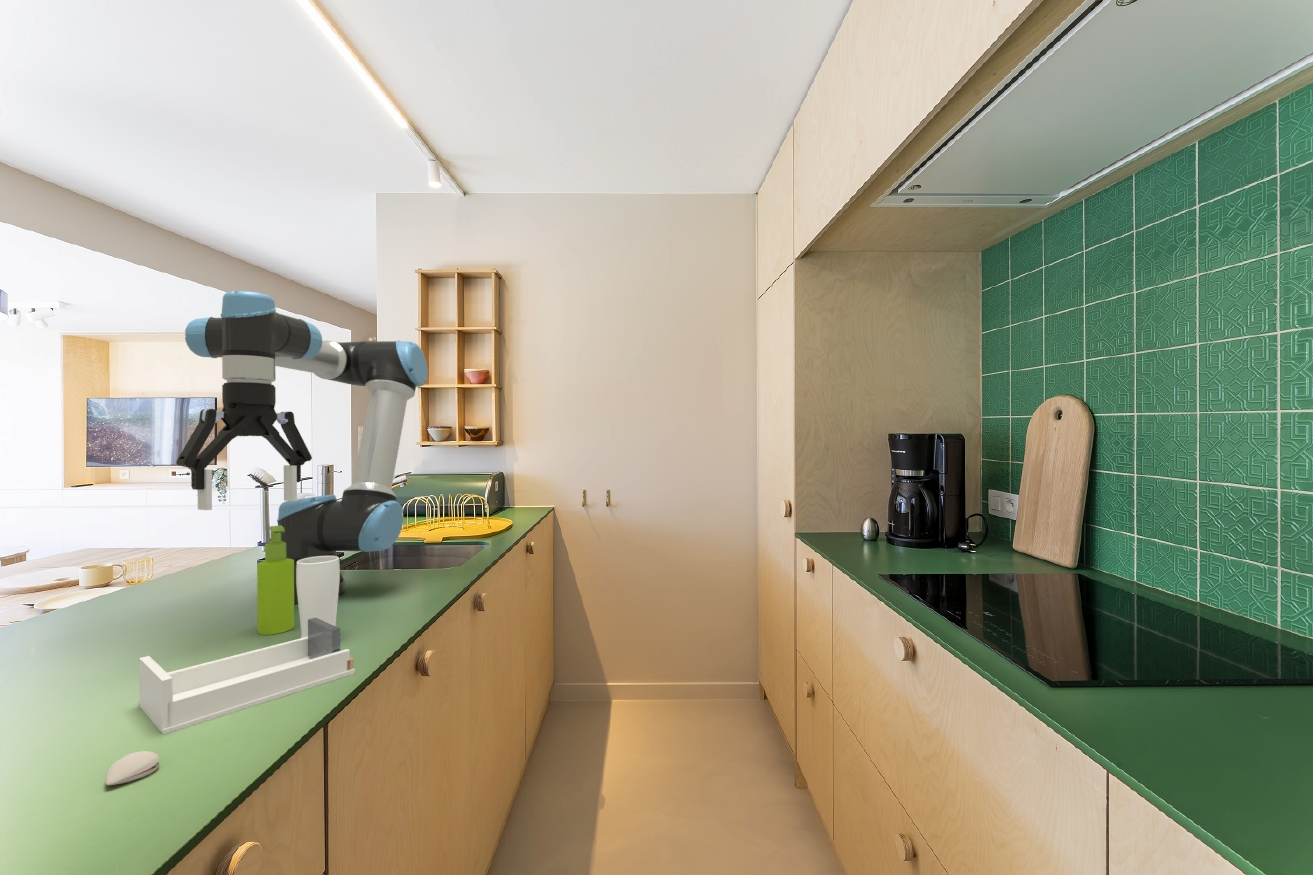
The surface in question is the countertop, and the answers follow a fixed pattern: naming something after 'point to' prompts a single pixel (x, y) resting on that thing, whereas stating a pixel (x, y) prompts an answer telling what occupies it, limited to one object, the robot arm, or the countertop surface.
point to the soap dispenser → (275, 587)
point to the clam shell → (132, 767)
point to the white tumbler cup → (317, 589)
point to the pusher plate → (322, 638)
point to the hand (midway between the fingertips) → (250, 505)
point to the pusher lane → (233, 682)
